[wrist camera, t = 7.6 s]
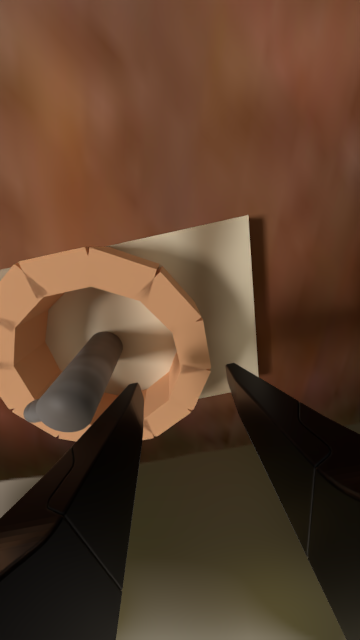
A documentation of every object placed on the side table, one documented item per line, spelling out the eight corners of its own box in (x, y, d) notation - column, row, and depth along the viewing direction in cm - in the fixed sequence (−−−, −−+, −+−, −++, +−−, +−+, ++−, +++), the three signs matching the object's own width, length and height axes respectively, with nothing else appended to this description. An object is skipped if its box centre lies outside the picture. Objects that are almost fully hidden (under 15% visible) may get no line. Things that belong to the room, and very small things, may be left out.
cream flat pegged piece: (239, 218, 13) (323, 186, 6) (252, 375, 18) (306, 461, 11) (-32, 278, 13) (-252, 314, 6) (51, 415, 18) (-23, 522, 11)
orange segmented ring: (182, 229, 12) (186, 224, 9) (212, 393, 16) (221, 424, 13) (-21, 274, 12) (-80, 283, 9) (65, 423, 17) (44, 459, 14)
